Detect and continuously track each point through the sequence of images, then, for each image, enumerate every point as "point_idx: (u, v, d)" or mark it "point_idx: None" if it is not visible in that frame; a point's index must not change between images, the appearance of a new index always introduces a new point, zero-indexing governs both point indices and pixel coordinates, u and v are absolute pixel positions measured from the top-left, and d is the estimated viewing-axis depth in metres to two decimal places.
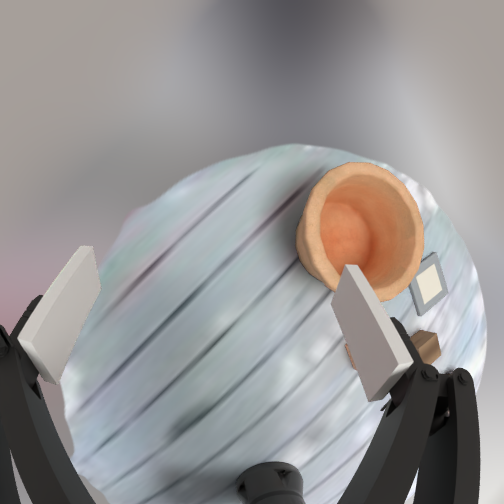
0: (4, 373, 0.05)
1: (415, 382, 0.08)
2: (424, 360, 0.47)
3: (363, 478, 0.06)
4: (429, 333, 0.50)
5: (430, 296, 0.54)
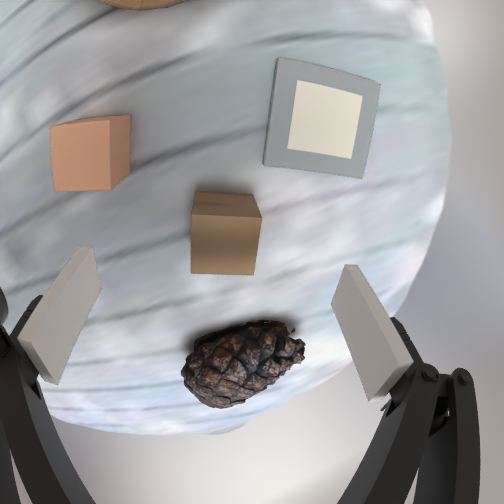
0: (4, 373, 0.05)
1: (415, 382, 0.08)
2: (199, 251, 0.25)
3: (363, 478, 0.06)
4: (253, 209, 0.25)
5: (312, 144, 0.26)
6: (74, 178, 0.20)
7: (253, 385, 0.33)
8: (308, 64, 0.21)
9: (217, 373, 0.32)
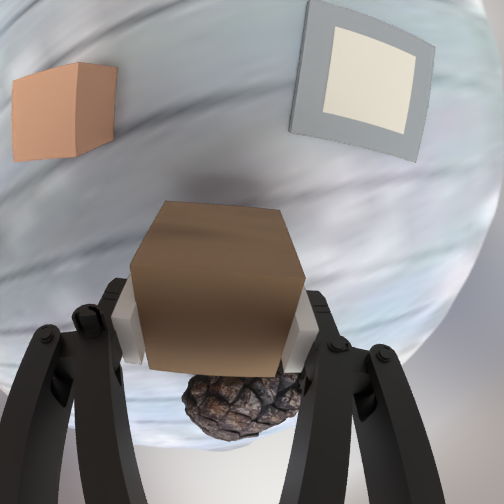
0: (90, 355, 0.07)
1: (322, 357, 0.09)
2: (159, 338, 0.11)
3: (295, 466, 0.06)
4: (283, 249, 0.11)
5: (356, 110, 0.17)
6: (34, 142, 0.13)
7: (269, 419, 0.25)
8: (348, 10, 0.13)
9: (224, 404, 0.25)
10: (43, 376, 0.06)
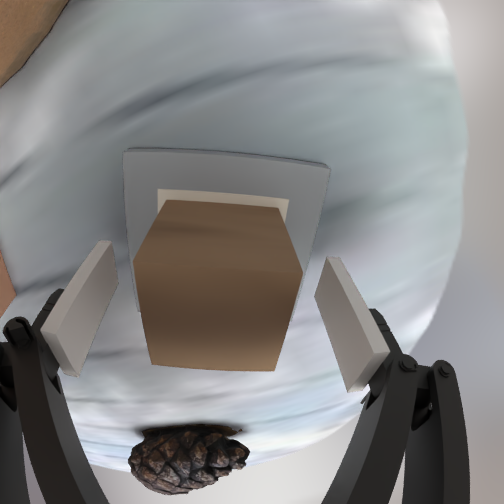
0: (25, 366, 0.06)
1: (392, 373, 0.08)
2: (161, 333, 0.11)
3: (346, 474, 0.06)
4: (282, 246, 0.11)
5: None
6: None
7: (189, 487, 0.25)
8: (175, 155, 0.13)
9: (152, 474, 0.25)
10: None
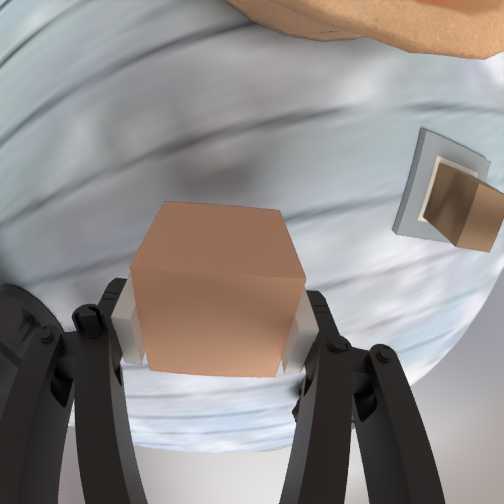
0: (90, 355, 0.07)
1: (322, 357, 0.09)
2: (470, 223, 0.18)
3: (295, 466, 0.06)
4: (496, 189, 0.18)
5: None
6: (199, 360, 0.11)
7: None
8: (446, 140, 0.20)
9: None
10: (43, 376, 0.06)
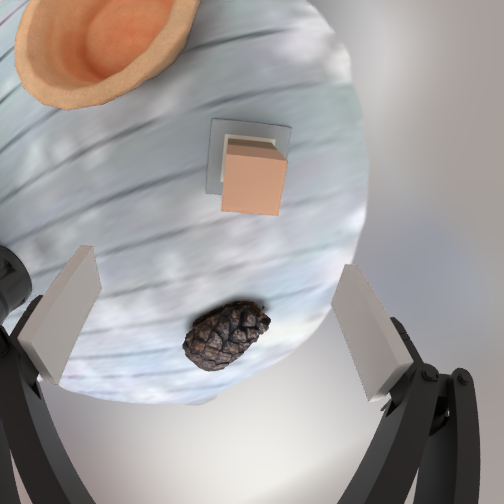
0: (4, 373, 0.05)
1: (415, 382, 0.08)
2: None
3: (363, 478, 0.06)
4: (272, 147, 0.33)
5: None
6: (245, 202, 0.28)
7: (229, 350, 0.47)
8: (232, 121, 0.35)
9: (202, 342, 0.47)
10: None
